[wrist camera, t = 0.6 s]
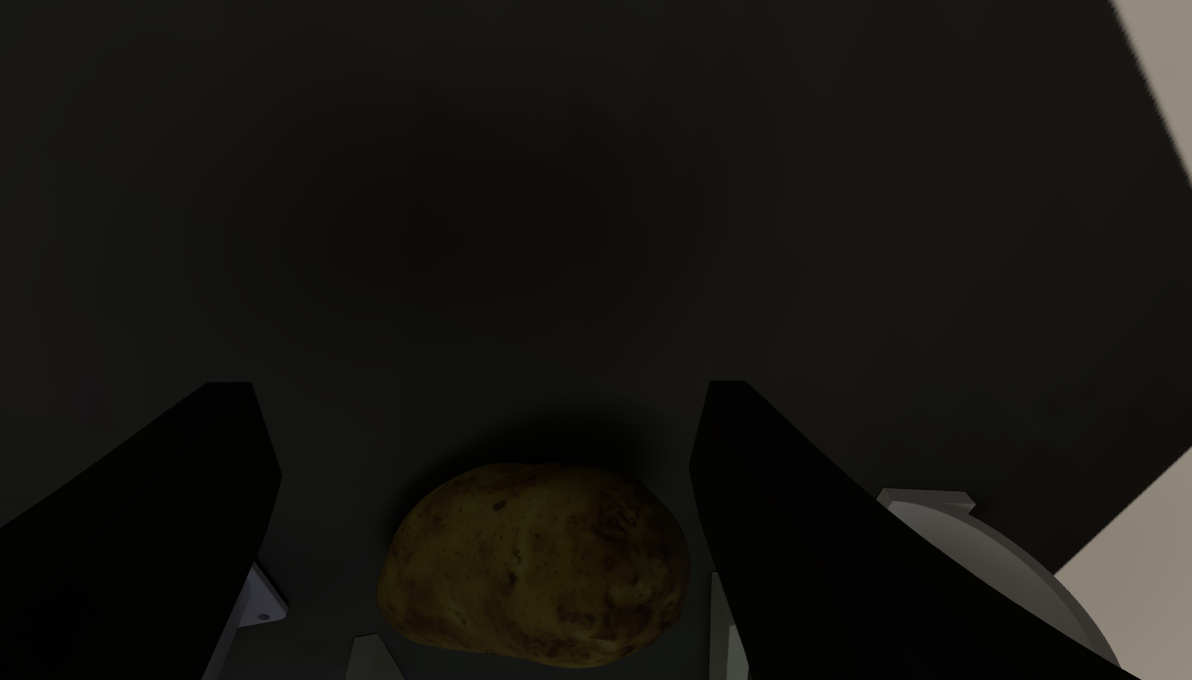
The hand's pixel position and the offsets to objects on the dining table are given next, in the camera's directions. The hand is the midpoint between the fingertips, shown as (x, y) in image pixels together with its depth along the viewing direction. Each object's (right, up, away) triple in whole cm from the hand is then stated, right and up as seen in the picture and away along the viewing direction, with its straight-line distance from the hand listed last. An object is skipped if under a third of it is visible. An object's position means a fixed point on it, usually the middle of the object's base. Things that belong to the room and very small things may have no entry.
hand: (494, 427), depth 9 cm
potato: (-2, -5, +16) cm, 17 cm away
